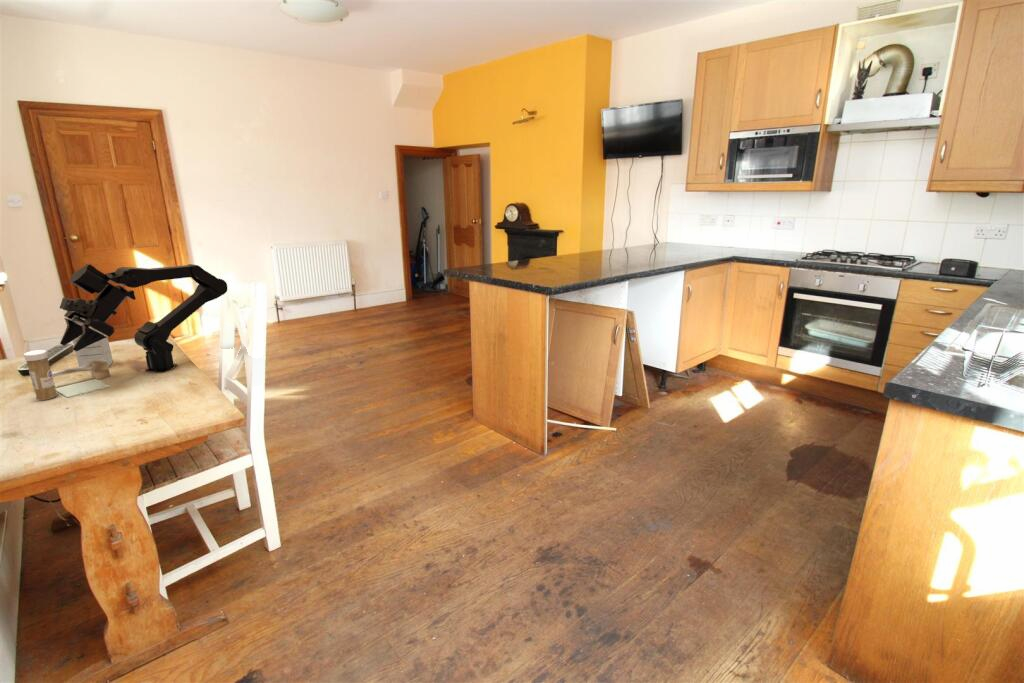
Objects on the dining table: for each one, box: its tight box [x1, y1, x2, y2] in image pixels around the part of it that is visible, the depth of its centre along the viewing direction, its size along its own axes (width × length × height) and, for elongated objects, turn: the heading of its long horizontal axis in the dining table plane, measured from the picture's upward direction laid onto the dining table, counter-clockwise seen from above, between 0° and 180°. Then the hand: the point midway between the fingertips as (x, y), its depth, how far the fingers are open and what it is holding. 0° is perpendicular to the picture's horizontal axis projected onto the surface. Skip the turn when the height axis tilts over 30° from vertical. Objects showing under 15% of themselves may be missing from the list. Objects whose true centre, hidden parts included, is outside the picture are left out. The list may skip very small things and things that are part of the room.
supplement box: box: [72, 335, 114, 371], centre depth 162 cm, size 7×7×13 cm
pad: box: [55, 378, 111, 399], centre depth 146 cm, size 10×10×1 cm
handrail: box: [51, 359, 111, 380], centre depth 149 cm, size 17×4×5 cm, turn 147°
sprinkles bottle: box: [23, 349, 58, 401], centre depth 137 cm, size 5×5×14 cm
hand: (68, 347), depth 141 cm, fingers open, 9 cm apart
